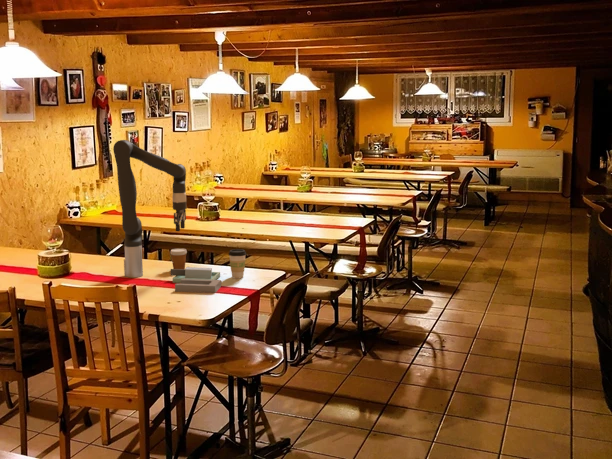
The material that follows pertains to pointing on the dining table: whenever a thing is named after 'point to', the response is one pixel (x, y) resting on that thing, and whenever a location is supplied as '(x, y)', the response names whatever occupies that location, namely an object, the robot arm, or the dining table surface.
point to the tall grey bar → (193, 272)
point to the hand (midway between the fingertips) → (180, 229)
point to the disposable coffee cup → (178, 258)
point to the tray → (178, 278)
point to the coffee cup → (237, 262)
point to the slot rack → (198, 285)
